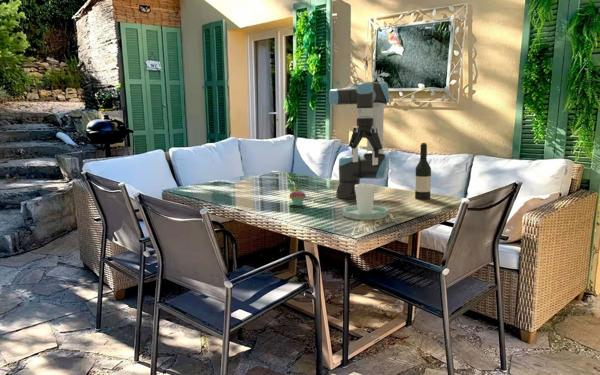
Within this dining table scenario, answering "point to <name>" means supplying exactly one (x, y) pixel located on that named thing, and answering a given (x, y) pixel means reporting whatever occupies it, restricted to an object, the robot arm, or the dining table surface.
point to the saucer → (376, 213)
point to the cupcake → (297, 197)
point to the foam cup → (365, 197)
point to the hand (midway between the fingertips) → (365, 163)
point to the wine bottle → (423, 176)
